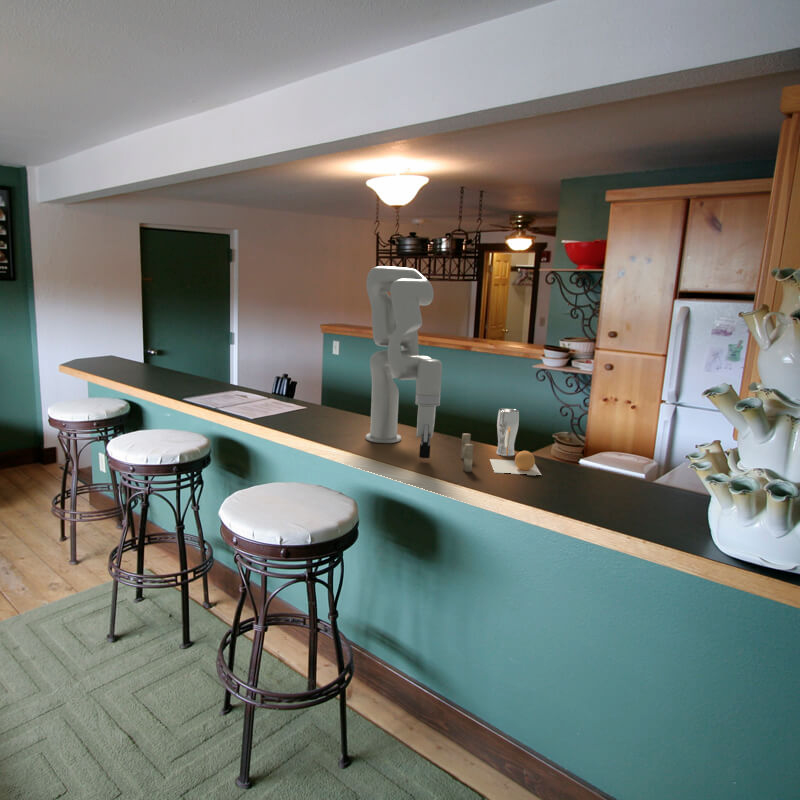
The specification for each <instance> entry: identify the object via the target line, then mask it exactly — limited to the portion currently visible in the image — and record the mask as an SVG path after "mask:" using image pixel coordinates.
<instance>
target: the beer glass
mask: <svg viewBox="0 0 800 800" xmlns="http://www.w3.org/2000/svg"><path fill="white" fill-rule="evenodd" d="M519 413H520V411H519V410H518V409H516V408H507V407H506V408H504V407H502V408H499V409H498V413H497V420H496V422H497V423H496V428H497V430H496V431H497V441H498V442H497V449H496V452H495V453H496V455H498V456H500V455H501V457H513V456H514V457H515V443H516V437H517V434H518V430H519V422H520V414H519Z"/></svg>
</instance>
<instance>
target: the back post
mask: <svg viewBox="0 0 800 800" xmlns="http://www.w3.org/2000/svg"><path fill="white" fill-rule="evenodd" d="M471 435H472V434H471V433H462V436H461V438H462V439H461V449H460V459H461V460H464V448H465V444H471Z"/></svg>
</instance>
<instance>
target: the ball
mask: <svg viewBox="0 0 800 800" xmlns="http://www.w3.org/2000/svg"><path fill="white" fill-rule="evenodd" d="M514 461H515V464H516V466H517V467H518V468H519V469H521V470H524V471H526V470H530V469H531V468H532V467H533V466H534V464H535V465H536V458H535V455H534V454H533V453H532V452H530V451H528V450H522V451H519V452H517V454H516V455H515V456H514Z"/></svg>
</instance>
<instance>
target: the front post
mask: <svg viewBox="0 0 800 800" xmlns="http://www.w3.org/2000/svg"><path fill="white" fill-rule="evenodd" d="M473 454H474V444H473V443H470V444H465V448H464V459H463V464H462V465H463V466H462V471H463V472H464V471H465V473H471V472H472V470H473V469H472V468H473V457H474V455H473Z"/></svg>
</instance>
